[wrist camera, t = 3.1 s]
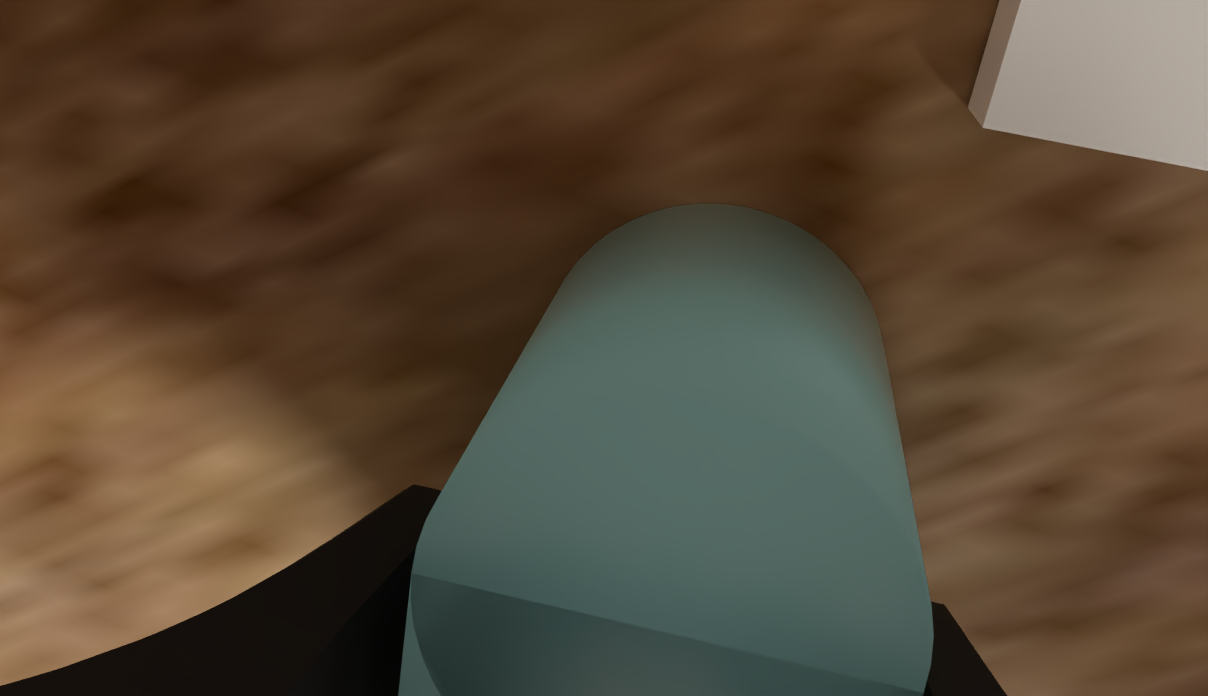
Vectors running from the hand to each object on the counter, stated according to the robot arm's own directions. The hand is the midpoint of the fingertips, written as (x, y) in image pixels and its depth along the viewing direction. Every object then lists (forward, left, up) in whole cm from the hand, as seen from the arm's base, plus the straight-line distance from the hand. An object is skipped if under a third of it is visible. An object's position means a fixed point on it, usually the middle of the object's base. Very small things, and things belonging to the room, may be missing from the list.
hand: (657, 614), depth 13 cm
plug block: (0, 0, -1) cm, 1 cm away
